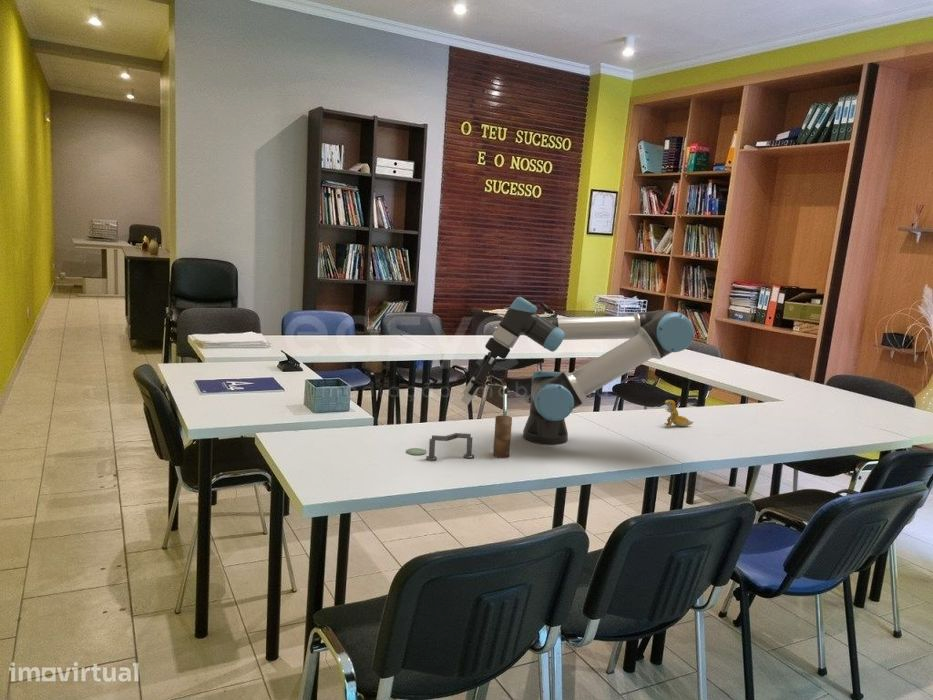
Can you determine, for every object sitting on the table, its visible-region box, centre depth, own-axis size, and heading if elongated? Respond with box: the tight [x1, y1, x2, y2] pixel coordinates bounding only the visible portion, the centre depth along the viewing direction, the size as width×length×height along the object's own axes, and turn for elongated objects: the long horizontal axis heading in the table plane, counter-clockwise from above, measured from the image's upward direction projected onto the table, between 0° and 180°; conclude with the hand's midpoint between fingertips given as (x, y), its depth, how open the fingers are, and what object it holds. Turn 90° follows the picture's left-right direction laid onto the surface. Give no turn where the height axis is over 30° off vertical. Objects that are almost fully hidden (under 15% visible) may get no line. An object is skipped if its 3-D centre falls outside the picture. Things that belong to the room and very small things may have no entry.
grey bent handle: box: [425, 432, 475, 462], centre depth 199 cm, size 15×4×7 cm, turn 113°
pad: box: [406, 447, 427, 456], centre depth 204 cm, size 6×6×1 cm
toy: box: [664, 399, 694, 429], centre depth 254 cm, size 7×15×10 cm, turn 108°
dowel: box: [492, 414, 513, 459], centre depth 204 cm, size 5×5×12 cm
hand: (465, 399), depth 212 cm, fingers open, 13 cm apart
